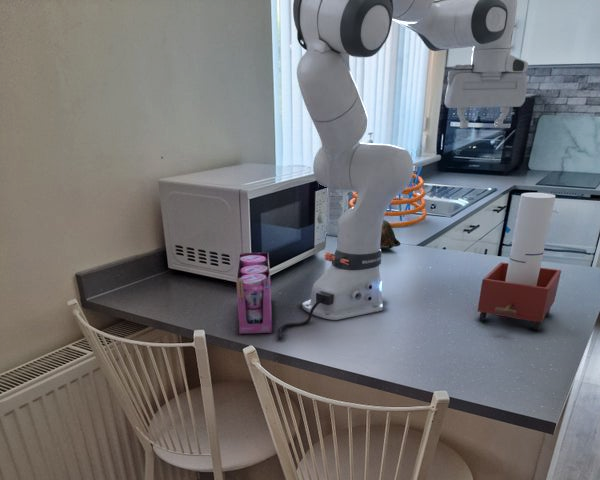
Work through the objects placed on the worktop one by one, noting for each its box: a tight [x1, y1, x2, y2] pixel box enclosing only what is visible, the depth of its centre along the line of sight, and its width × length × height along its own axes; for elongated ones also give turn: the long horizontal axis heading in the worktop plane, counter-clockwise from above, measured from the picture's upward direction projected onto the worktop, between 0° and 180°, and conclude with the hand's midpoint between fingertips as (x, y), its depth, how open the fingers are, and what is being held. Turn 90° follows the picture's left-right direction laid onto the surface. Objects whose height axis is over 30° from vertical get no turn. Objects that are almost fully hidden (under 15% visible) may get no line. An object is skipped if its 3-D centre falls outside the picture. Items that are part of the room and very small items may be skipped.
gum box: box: [235, 251, 272, 334], centre depth 133 cm, size 24×8×14 cm, turn 3°
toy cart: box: [477, 262, 562, 332], centre depth 129 cm, size 22×15×11 cm, turn 148°
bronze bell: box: [380, 218, 402, 251], centre depth 190 cm, size 17×11×18 cm
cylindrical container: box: [505, 192, 556, 286], centre depth 126 cm, size 7×7×25 cm
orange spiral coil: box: [348, 166, 428, 228], centre depth 232 cm, size 34×35×24 cm
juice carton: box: [325, 188, 350, 237], centre depth 209 cm, size 9×10×27 cm
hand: (480, 127), depth 137 cm, fingers open, 8 cm apart
